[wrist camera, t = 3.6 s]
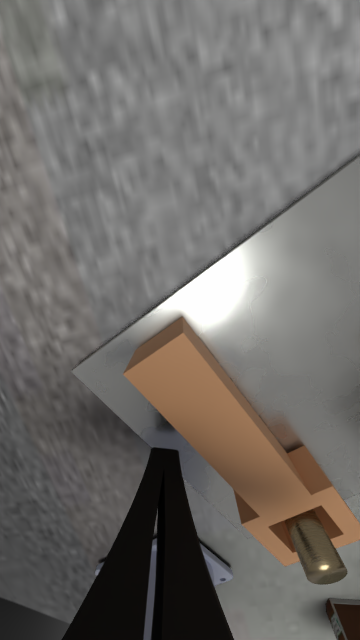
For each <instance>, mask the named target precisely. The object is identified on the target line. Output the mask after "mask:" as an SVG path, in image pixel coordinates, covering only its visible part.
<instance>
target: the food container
mask: <svg viewBox="0 0 360 640" xmlns="http://www.w3.org/2000/svg"><path fill="white" fill-rule="evenodd" d="M326 612H327V615H328V617H329V620H330V623H331V625H332V628H333V631H334V634H335V636H336V639H337V640H360V600H349V599H332V598H329V599H328V601H327V603H326Z"/></svg>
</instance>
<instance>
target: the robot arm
mask: <svg viewBox="0 0 360 640" xmlns="http://www.w3.org/2000/svg"><path fill="white" fill-rule="evenodd" d="M157 508H158V520H157V538H156V539H154V540H153V535H154V527H155V521H156V515H157ZM95 574H96V575H97V577H96V579H95V581H94V583H93V584H92V586H91V588H90V590H89V592H88V594H87V596H86V598H85V599H84V601H83V603H82V605H81V607H80V608H79V610H78V612H77V614H76V616H75V617H74V619H73V621H72V623H71V624H70V626H69V628H68V630H67V631H66V633H65V635H64V637H63V638H62V640H234V638H233V636H232V633H231V631H230V628H229V625H228V623H227V620H226V618H225V615H224V612H223V610H222V607H221V604H220V602H219V599H218V596H217V593H216V590H215V585H218V584H221V583H224V582H227V581H229V580H232V579H233V572H232V570H231V568H229V567H228V566H227V565H226V564H225V563H223V562H222V561H221V560H220V559H218V558H217V557H216V556H215V555H214V554H212V553H211V552H210V551H209V550H208V549H206V548H205V547H204V546H203V545H202V544H200V542H199V539H198V536H197V532H196V529H195V525H194V522H193V518H192V515H191V511H190V507H189V503H188V499H187V495H186V491H185V486H184V481H183V476H182V471H181V465H180V458H179V451H178V450H176V449H167V448H158V447H153V448H151V452H150V457H149V460H148V464H147V467H146V470H145V472H144V475H143V478H142V481H141V483H140V486H139V488H138V491H137V493H136V496H135V498H134V501H133V503H132V505H131V507H130V510H129V512H128V514H127V516H126V518H125V521H124V523H123V525H122V527H121V529H120V531H119V533H118V536H117V538H116V540H115V542H114V544H113V546H112V548H111V550H110V552H109V554H108V556H107V558H106V560H105V562H103V563H100V564H98V565H97V567H96V570H95Z"/></svg>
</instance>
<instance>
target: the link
mask: <svg viewBox="0 0 360 640" xmlns="http://www.w3.org/2000/svg"><path fill="white" fill-rule="evenodd" d="M123 375H124V376H125V377H126V378H127V379H128V380H129V381H130V382H131V383H132V384H133V385H134V386H135V387H136V388H137V389H138V390H139V392H140V393H141V394H142V395H143V396H144V397H145V398H146V399H147V400H148V401H149V402H150V403H151V404H152V405H153V406H154V407H155V408H156V409H157V410H158V411H159V412H160V413H161V414H162V415H163V416H164V417H165V419H166V420H167V421H168V422H169V423H170V424H171V425H172V426H173V427H174V428H175V429H176V430H177V431H178V432H179V433H180V434H181V435H182V436H183V437H184V438H185V439H186V440H187V441H188V442H189V443H190V444H191V445H192V447H193V448H194V449H195V450H196V451H197V452H198V453H199V454H200V455H201V456H202V457H203V458H204V459H205V460H206V461H207V462H208V463H209V464H210V465H211V466H212V467H213V468H214V469H215V470H216V471H217V472H218V474H219V475H220V476H221V477H222V478H223V479H224V480H225V481H226V482H227V483H228V484H229V485H230V486H231V487H232V488H233V490H234V495H235V499H236V503H237V507H238V512H239V516H240V520H241V524H242V525H243V526H244V527H245V528H246V529H247V530H248V531H249V532H250V533H251V534H252V535H253V536H254V537H255V538H256V539H257V540H258V541H259V542H260V543H261V544H262V545H263V546H264V547H265V548H266V549H267V550H268V551H270V552H271V553H272V554H273V555H274V556H275V557H276V558H277V559H278V560H279V561H280V562H281V563H282V564H283V565H284V566H287V565H290V564H293V563H296V562H299V561H300V559H299V557H298V555H297V552H296V550H295V547H294V545H293V542H292V540H291V537H290V535H289V532H288V530H287V527H286V525H285V522H284V520H286V519H288V518H291V517H293V516H296V515H298V514H301V513H303V512H306V511H308V510H311V509H313V508H314V510H315V512H316V514H317V516H318V518H319V519H320V521H321V523H322V525H323V527H324V529H325V530H326V532H327V534H328V536H329V538H330V539H331V541H332V543H333V545H334V547H335V549H336V548H338V547H341V546H344V545H347V544H350V543H353V542H355V541H358V540H360V523H359V522H358V520H357V519H356V517H355V516H354V514H353V513H352V512H351V510H350V509H349V507H348V506H347V504H346V503H345V501H344V500H343V499H342V497H341V496H340V494H339V493H338V491H337V490H336V489H335V487H334V486H333V484H332V483H331V482H330V480H329V479H328V477H327V476H326V475H325V473H324V472H323V470H322V469H321V468H320V466H319V465H318V463H317V462H316V461H315V459H314V458H313V456H312V455H311V454H310V452H309V451H308V449H307V448H306V447H305V445H304V446H302V447H300V448H298V449H296V450H294V451H291V452H289V453H287V452H286V451H285V450H284V448H283V447H282V446H281V445H280V443H279V442H278V441H277V439H276V438H275V437H274V435H273V434H272V433H271V431H270V430H269V429H268V428H267V426H266V425H265V424H264V422H263V421H262V420H261V418H260V417H259V416H258V414H257V413H256V412H255V411H254V409H253V408H252V407H251V405H250V404H249V403H248V401H247V400H246V399H245V397H244V396H243V395H242V394H241V392H240V391H239V390H238V388H237V387H236V386H235V384H234V383H233V382H232V380H231V379H230V378H229V377H228V375H227V374H226V373H225V371H224V370H223V369H222V367H221V366H220V365H219V363H218V362H217V361H216V360H215V358H214V357H213V356H212V354H211V353H210V352H209V350H208V349H207V348H206V346H205V345H204V344H203V343H202V341H201V340H200V339H199V337H198V336H197V335H196V333H195V332H194V331H193V330H192V328H191V327H190V326H189V324H188V323H187V322H186V320H185V319H184V318H183V317H181V318H180V319H178V320H177V321H176V322H174V323H173V324H171V325H170V326H169V327H167V328H166V329H164V330H163V331H161V332H160V333H159V334H157V335H156V336H154V337H153V338H152V339H150V340H149V341H147V342H146V343H145V344H143V345H142V346H140V347H139V348H137V349H136V350H135V352H134V354H133V356H132V358H131V360H130V361H129V363H128V365H127V367H126V369H125V371H124V373H123Z"/></svg>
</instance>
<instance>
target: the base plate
mask: <svg viewBox="0 0 360 640" xmlns="http://www.w3.org/2000/svg"><path fill="white" fill-rule="evenodd" d="M181 317H183V318H184V319H185V320H186V322H187V323H188V324H189V326H190V327H191V328H192V330H193V331H194V332H195V333H196V335H197V336H198V337H199V339H200V340H201V341H202V343H203V344H204V345H205V346H206V348H207V349H208V350H209V352H210V353H211V354H212V356H213V357H214V358H215V360H216V361H217V362H218V363H219V365H220V366H221V367H222V369H223V370H224V371H225V373H226V374H227V375H228V377H229V378H230V379H231V380H232V382H233V383H234V384H235V386H236V387H237V388H238V390H239V391H240V392H241V394H242V395H243V396H244V397H245V399H246V400H247V401H248V403H249V404H250V405H251V407H252V408H253V409H254V411H255V412H256V413H257V414H258V416H259V417H260V418H261V420H262V421H263V422H264V424H265V425H266V426H267V428H268V429H269V430H270V431H271V433H272V434H273V435H274V437H275V438H276V439H277V441H278V442H279V443H280V445H281V446H282V447H283V448H284V450H285V451H286V452H287V453H289V452H291V451H294V450H296V449H298V448H300V447H302V446H304V445H305V447H306V448H307V449H308V451H309V452H310V454H311V455H312V456H313V458H314V459H315V461H316V462H317V463H318V465H319V466H320V468H321V469H322V470H323V472H324V473H325V475H326V476H327V477H328V479H329V480H330V482H331V483H332V484H333V486H334V487H335V489H336V490H337V491H338V493H339V494H340V496H341V497H342V499H343V500H345V499H347V498H350V497H352V496H355V495H357V494H360V154H359V155H358V156H356V157H355V158H354V159H352V160H351V161H350V162H348V163H347V164H346V165H344V166H343V167H342V168H340V169H339V170H338V171H336V172H335V173H334V174H332V175H331V176H330V177H328V178H327V179H326V180H324V181H323V182H322V183H320V184H319V185H318V186H316V187H315V188H314V189H312V190H311V191H310V192H308V193H307V194H305V195H304V196H303V197H301V198H300V199H299V200H297V201H296V202H295V203H293V204H292V205H291V206H289V207H288V208H287V209H285V210H284V211H283V212H281V213H280V214H279V215H277V216H276V217H275V218H273V219H272V220H271V221H269V222H268V223H267V224H265V225H264V226H263V227H261V228H260V229H259V230H257V231H256V232H255V233H253V234H252V235H251V236H249V237H248V238H247V239H245V240H244V241H242V242H241V243H240V244H238V245H237V246H236V247H234V248H233V249H232V250H230V251H229V252H228V253H226V254H225V255H224V256H222V257H221V258H220V259H218V260H217V261H216V262H214V263H213V264H212V265H210V266H209V267H208V268H206V269H205V270H204V271H202V272H201V273H200V274H198V275H197V276H196V277H194V278H193V279H192V280H190V281H189V282H188V283H186V284H185V285H183V286H182V287H181V288H179V289H178V290H177V291H175V292H174V293H173V294H171V295H170V296H169V297H167V298H166V299H165V300H163V301H162V302H161V303H159V304H158V305H157V306H155V307H154V308H153V309H151V310H150V311H149V312H147V313H146V314H145V315H143V316H142V317H141V318H139V319H138V320H137V321H135V322H134V323H133V324H131V325H130V326H129V327H127V328H126V329H125V330H123V331H122V332H120V333H119V334H118V335H116V336H115V337H114V338H112V339H111V340H110V341H108V342H107V343H106V344H104V345H103V346H102V347H100V348H99V349H98V350H96V351H95V352H94V353H92V354H91V355H90V356H88V357H87V358H86V359H84V360H83V361H82V362H80V363H79V364H78V365H77V366H76V367H75V368H74V369H73V370H72V371H71V372H72V373H73V374H74V375H75V376H76V377H77V378H78V379H79V380H80V381H81V382H82V383H84V384H85V385H86V386H87V387H88V388H89V389H90V390H91V391H92V392H93V393H94V394H95V395H96V396H97V397H98V398H99V399H100V400H101V401H103V402H104V403H105V404H106V405H107V406H108V407H109V408H110V409H111V410H112V411H113V412H114V413H115V414H116V415H117V416H118V417H119V418H121V419H122V420H123V421H124V422H125V423H126V424H127V425H128V426H129V427H130V428H131V429H132V430H133V431H134V432H135V433H136V434H137V435H138V436H140V437H141V438H142V439H143V440H144V441H145V442H146V443H147V444H148V445H149V446H150V447H151V448H153V447H158V448H167V449H176V450H178V451H179V458H180V465H181V471H182V476H183V478H184V479H185V480H186V481H187V482H188V483H189V484H190V485H191V486H192V487H193V488H195V489H196V490H197V491H198V492H199V493H200V494H201V495H202V496H203V497H204V498H205V499H206V500H207V501H208V502H209V503H210V504H211V505H213V506H214V507H215V508H216V509H217V510H218V511H219V512H220V513H221V514H222V515H223V516H224V517H225V518H226V519H227V520H228V521H229V522H230V523H232V524H233V525H234V526H235V527H236V528H237V529H238V530H239V531H240V532H241V533H242V534H243V535H244V536H245V537H246V538H247V539H248V538H250V537H253V535H252V534H251V533H250V532H249V531H248V530H247V529H246V528H245V527H244V526H243V525H242V524H241V520H240V516H239V512H238V507H237V503H236V499H235V495H234V490H233V488H232V487H231V486H230V485H229V484H228V483H227V482H226V481H225V480H224V479H223V478H222V477H221V476H220V475H219V474H218V472H217V471H216V470H215V469H214V468H213V467H212V466H211V465H210V464H209V463H208V462H207V461H206V460H205V459H204V458H203V457H202V456H201V455H200V454H199V453H198V452H197V451H196V450H195V449H194V448H193V447H192V445H191V444H190V443H189V442H188V441H187V440H186V439H185V438H184V437H183V436H182V435H181V434H180V433H179V432H178V431H177V430H176V429H175V428H174V427H173V426H172V425H171V424H170V423H169V422H168V421H167V420H166V419H165V417H164V416H163V415H162V414H161V413H160V412H159V411H158V410H157V409H156V408H155V407H154V406H153V405H152V404H151V403H150V402H149V401H148V400H147V399H146V398H145V397H144V396H143V395H142V394H141V393H140V392H139V390H138V389H137V388H136V387H135V386H134V385H133V384H132V383H131V382H130V381H129V380H128V379H127V378H126V377H125V376H124V375H123V373H124V371H125V369H126V367H127V365H128V363H129V361H130V360H131V358H132V356H133V354H134V352H135V350H136V349H137V348H139V347H140V346H142V345H143V344H145V343H146V342H147V341H149V340H150V339H152V338H153V337H154V336H156V335H157V334H159V333H160V332H161V331H163V330H164V329H166V328H167V327H169V326H170V325H171V324H173V323H174V322H176V321H177V320H178V319H180V318H181ZM284 522H285V525H286V527H287V530H288V532H289V535H290V537H291V540H292V542H293V545H294V547H295V550H296V552H297V555H298V557H299V559H300V562H301V564H302V567H303V569H304V572H305V574H306V577H307V579H308V580H309V581H310V582H312V583H314V584H331V583H335V582H338V581H340V580H341V579H343V578H344V577H345V576H346V575H347V569H346V567H345V565H344V563H343V561H342V560H341V558H340V556H339V554H338V552H337V550H336V549H335V547H334V545H333V543H332V541H331V539H330V538H329V536H328V534H327V532H326V530H325V529H324V527H323V525H322V523H321V521H320V519H319V518H318V516H317V514H316V512H315V510H314V508H313V509H311V510H308V511H306V512H303V513H301V514H298V515H296V516H293V517H291V518H288V519H286V520H284Z"/></svg>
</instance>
